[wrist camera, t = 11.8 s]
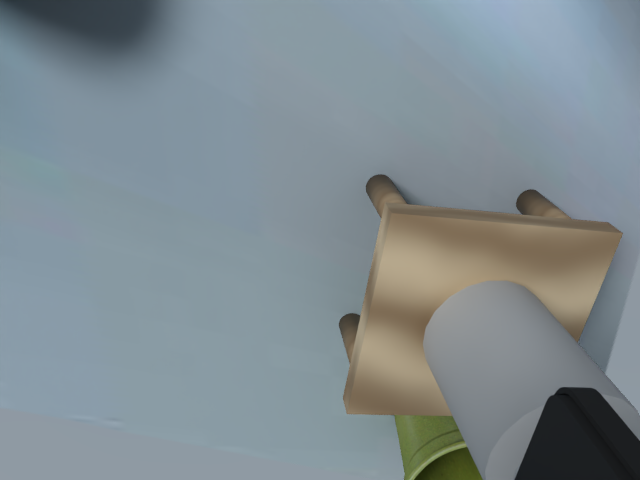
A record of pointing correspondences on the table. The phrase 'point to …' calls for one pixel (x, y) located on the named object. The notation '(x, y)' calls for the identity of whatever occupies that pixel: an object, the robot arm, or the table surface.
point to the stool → (459, 285)
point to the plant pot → (434, 449)
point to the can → (507, 370)
